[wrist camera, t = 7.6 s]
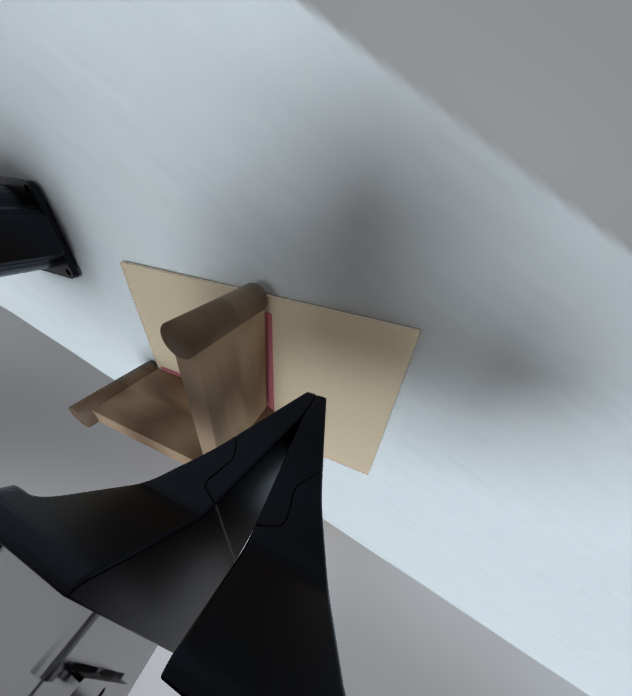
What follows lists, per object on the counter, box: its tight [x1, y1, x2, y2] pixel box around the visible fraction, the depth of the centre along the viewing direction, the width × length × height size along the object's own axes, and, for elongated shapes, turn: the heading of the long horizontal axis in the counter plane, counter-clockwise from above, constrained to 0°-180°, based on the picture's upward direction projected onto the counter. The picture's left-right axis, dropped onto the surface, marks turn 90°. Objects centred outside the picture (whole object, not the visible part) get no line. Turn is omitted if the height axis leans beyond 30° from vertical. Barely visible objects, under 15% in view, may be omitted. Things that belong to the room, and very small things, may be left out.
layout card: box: [120, 261, 421, 475], centre depth 17 cm, size 20×12×1 cm, turn 86°
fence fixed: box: [69, 362, 274, 464], centre depth 18 cm, size 14×2×6 cm, turn 86°
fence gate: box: [160, 283, 268, 454], centre depth 13 cm, size 9×2×5 cm, turn 174°
